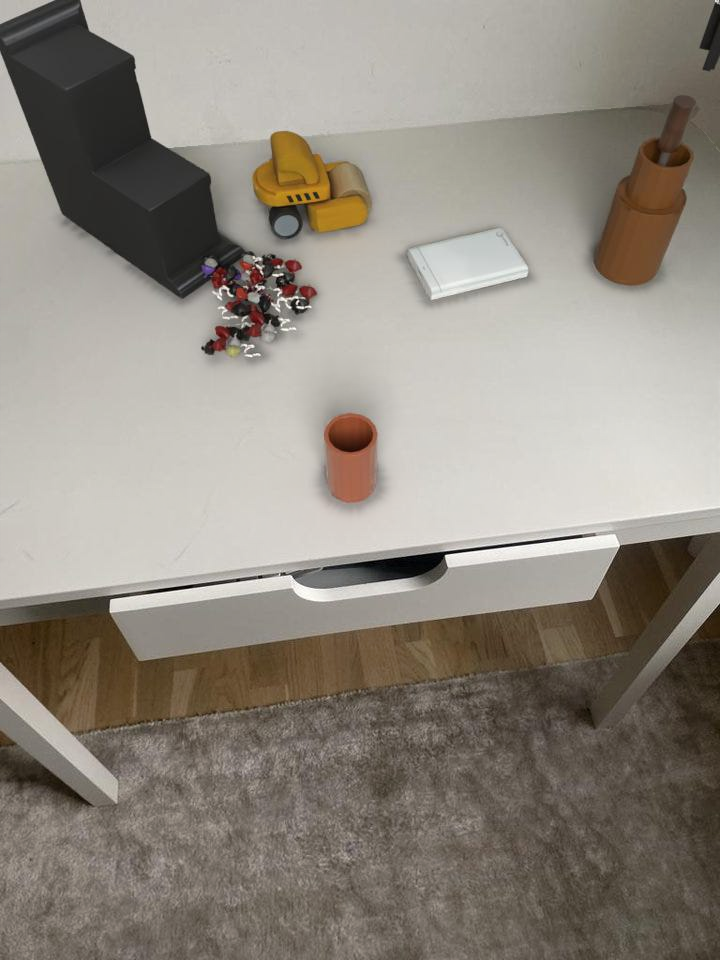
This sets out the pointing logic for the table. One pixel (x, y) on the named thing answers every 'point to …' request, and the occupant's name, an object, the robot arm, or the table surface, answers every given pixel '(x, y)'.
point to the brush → (675, 127)
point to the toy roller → (309, 188)
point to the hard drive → (467, 263)
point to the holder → (351, 457)
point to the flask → (643, 215)
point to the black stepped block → (110, 149)
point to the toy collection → (253, 299)
